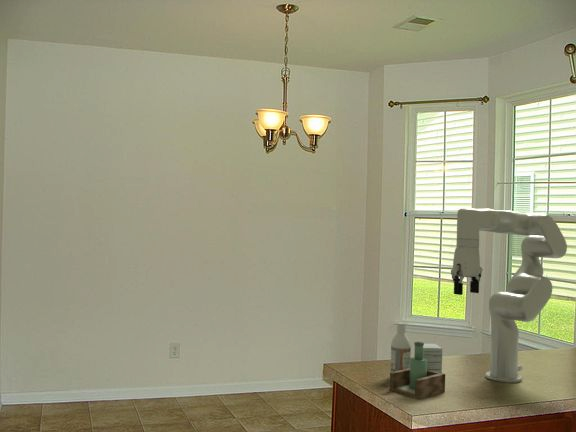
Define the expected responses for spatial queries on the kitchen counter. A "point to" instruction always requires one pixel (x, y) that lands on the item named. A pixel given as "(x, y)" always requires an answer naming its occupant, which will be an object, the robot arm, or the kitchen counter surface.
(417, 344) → the green bottle
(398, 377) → the walnut U-rest
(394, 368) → the bath foam
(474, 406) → the kitchen counter surface
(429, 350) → the supplement box
